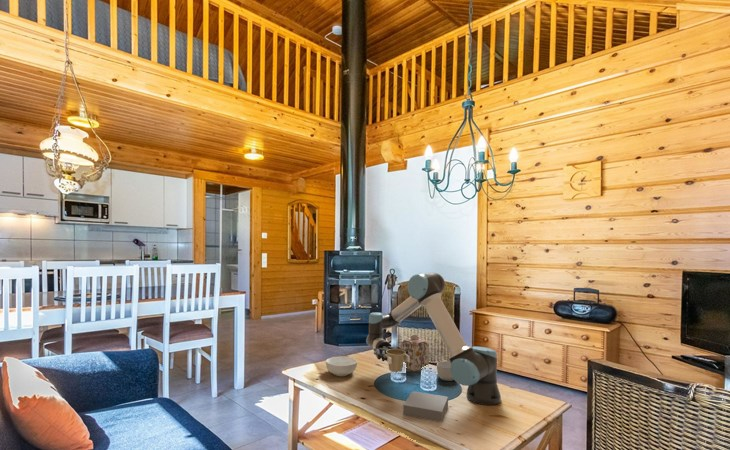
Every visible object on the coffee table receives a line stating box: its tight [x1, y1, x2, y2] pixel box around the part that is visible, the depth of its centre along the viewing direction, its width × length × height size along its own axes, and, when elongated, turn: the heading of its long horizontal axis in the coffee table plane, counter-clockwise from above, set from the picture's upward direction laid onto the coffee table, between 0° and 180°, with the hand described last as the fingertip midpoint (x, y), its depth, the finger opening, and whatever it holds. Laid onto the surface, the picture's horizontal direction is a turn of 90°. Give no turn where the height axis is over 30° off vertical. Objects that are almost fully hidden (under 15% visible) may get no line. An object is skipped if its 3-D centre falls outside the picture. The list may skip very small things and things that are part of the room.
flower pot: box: [386, 349, 406, 373], centre depth 181 cm, size 9×9×9 cm
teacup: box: [436, 359, 455, 382], centre depth 203 cm, size 14×11×8 cm
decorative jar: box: [400, 334, 430, 372], centre depth 220 cm, size 12×12×18 cm
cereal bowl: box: [325, 355, 358, 377], centre depth 207 cm, size 17×17×7 cm
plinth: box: [402, 390, 449, 423], centre depth 164 cm, size 16×16×4 cm
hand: (399, 360), depth 176 cm, fingers closed on flower pot, 8 cm apart
